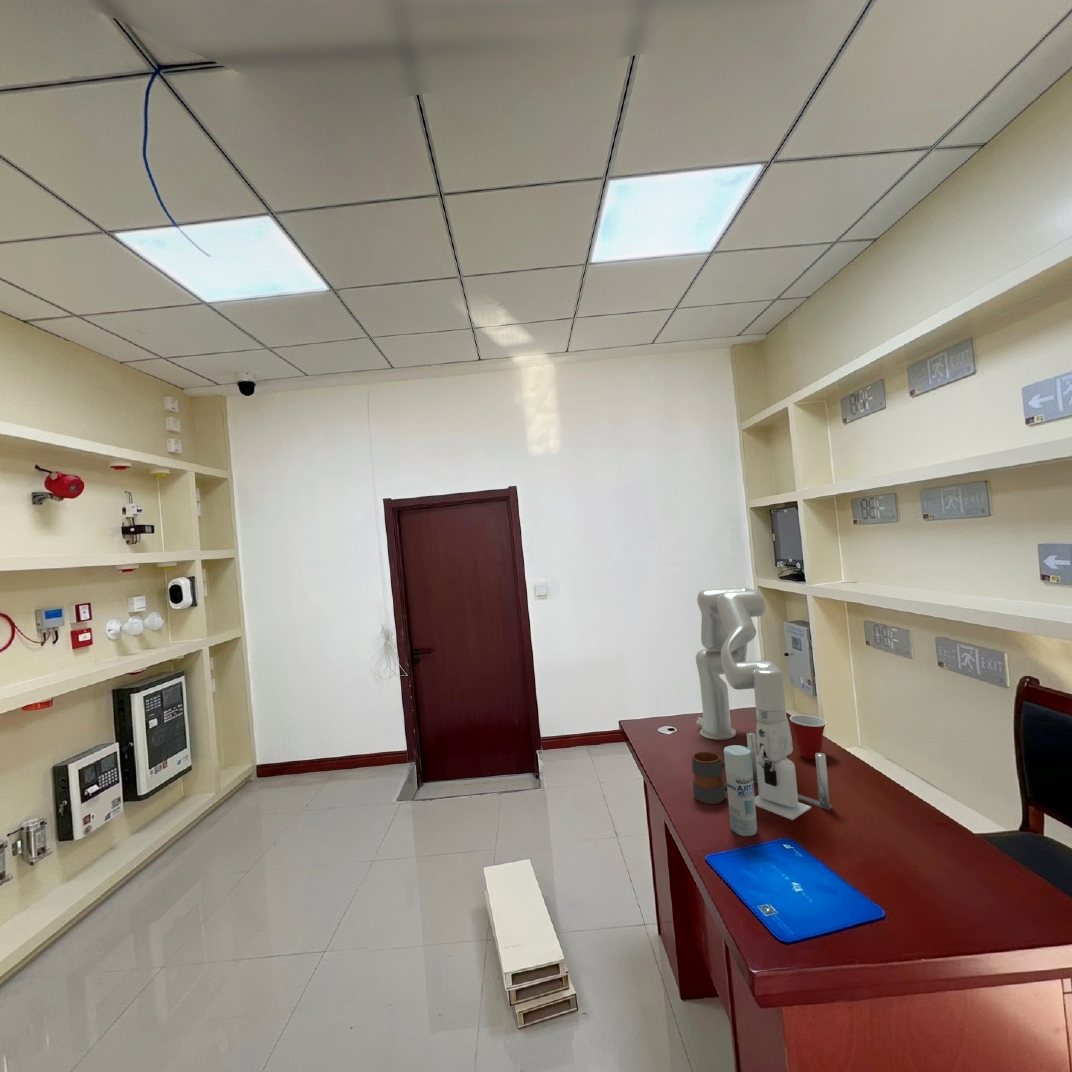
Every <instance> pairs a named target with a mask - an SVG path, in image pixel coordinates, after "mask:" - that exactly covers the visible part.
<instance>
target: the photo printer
mask: <svg viewBox="0 0 1072 1072" xmlns="http://www.w3.org/2000/svg"><path fill="white" fill-rule="evenodd" d="M757 758H758V754H757ZM757 758H756V768H757V779H758V783H757V787H758V788H757V789H758V795H759V796H760V797H761V798H764V799H767V800H770V801H773V802H776V803H779V804H783V805H786V806H790V807H796V806H797V805H798V802H799V800H798V794H799V793H798V785H797V773H796V766H795V763H794V761H792V760H790V759H789V758H785V757H784V758H782V759H780V760H778V761H776V762H774V771H776V780H777V786H772V785H769V784H767V783H765V777H764V769H763V768H762V766H761V765H760V764H758V763H757ZM767 763H768V764H769V765H770V761H768V760H767Z"/></svg>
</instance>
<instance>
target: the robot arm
mask: <svg viewBox="0 0 1072 1072" xmlns="http://www.w3.org/2000/svg"><path fill="white" fill-rule="evenodd" d="M696 601H697V605H698V608H699V611H700V613H701V621H700V622H701V624H700V626H701V627H700V629H701V630H700V638H701V639H700V642H701V645H702V646H703V649H701V650H699V651H698V652H697V653H696V655H695V663H696V664H695V665H696V667H697V668H696V669H697V672H698V678H699V684H700V695H701V704H702V706H701V707H702V708H701V709H702V717H701V716H699V717H698V718H697V720H696V722H695V723H696V725H700V726H701V728H700V729H699V735H701V736H702V737H703V738H706V739H709V740H716V741H717V740H718V741H720V740H721V741H722V740H730V739H733V738H734V737H736V735H737V731H736V729H735V728H733V727H732V723H731V722H732V721H731V712H730V711H731V709H730V700H729V689H728V686H727V685H728V684H729V686H730V687H731V688H733V690H738V691H739V690H752V689H753V690H754V701H755V702H754V704H755V712H756V713H755V715H756V720H757V721H756V730H755V738H756V749H757V755H758V758H757V763H758V764H760V765H761V766H762V768H763V769H764V777H765V783H767V784H769V785H772V786H777V780H776V771H774V762H776V761H778V760H780V759H782V758H784V757H785V758H787V759H789V756H790V755H791V754H792V753H793V749H794V746H793V745H794V744H793V740H792V739H793V738H792V731H791V726H790V723H789V719H788V717H787V709H786V698H785V685H784V684H785V683H784V674H783V672H782V671H781V669H779V668H778V666H776V664H775V663H774V662H772V661H770V660H755V661H754V660H752V661H747V652H748V643H750V642H751V641H753V640H754V639H755V637H756V635H757V629H756V626H755V624H754V621H753V620H752V618H756V617H757V618H758V617H762V616H764V614H765V612H766V602H765V599H764V596H762V594H761V593H760V592H759V591H757V590H755V589H753V588H749V587H733V588H731V587H729V588H716V589H714V588H713V589H703V590H701V591H699V592H698V594H697V598H696ZM720 675H725V678H726V681H727V683H728V684H727V683H726V682H725V681H724V679H722V677H720ZM767 760H768V761H770V765H769V764H768V763H767Z"/></svg>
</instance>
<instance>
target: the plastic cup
mask: <svg viewBox="0 0 1072 1072" xmlns="http://www.w3.org/2000/svg"><path fill="white" fill-rule="evenodd" d="M789 720H790V723H791V725H792V729H793V732H794V736H795V740H796V745H797V746H798V751H799V754H800V757H801V758H803V759H807V760H816V756H815V754H816V753H822V752H821V751H822V747H823V746H822V745H823V735H824V731H825V727H826V725H827V721H826V720H825V719H823V718H820V717H817V716H813V715H806V714H805V715H804V714H795V715H791V716H790V717H789Z"/></svg>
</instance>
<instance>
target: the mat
mask: <svg viewBox="0 0 1072 1072" xmlns="http://www.w3.org/2000/svg"><path fill="white" fill-rule="evenodd" d="M755 807H757V808H760V809H763V810H766V811H768V812H770V813H771V812H772V813H773V814H776V815H779V816H780V817H784V818H786V819H788V820H791V821H794V820H795V819H797V818H798V817H800V816H802V815H803V814H804V813H806V812H807V811H810V810H811V809H812V806H811V805H807V804H805V803H802V802H799V801H798V805H797V806H796V807H790V806H786V805H783V804H779V803H776V802H773V801H770V800H767V799H764V798H761V797H760V796H759V794H758V795H757V796H756V795H755Z"/></svg>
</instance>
